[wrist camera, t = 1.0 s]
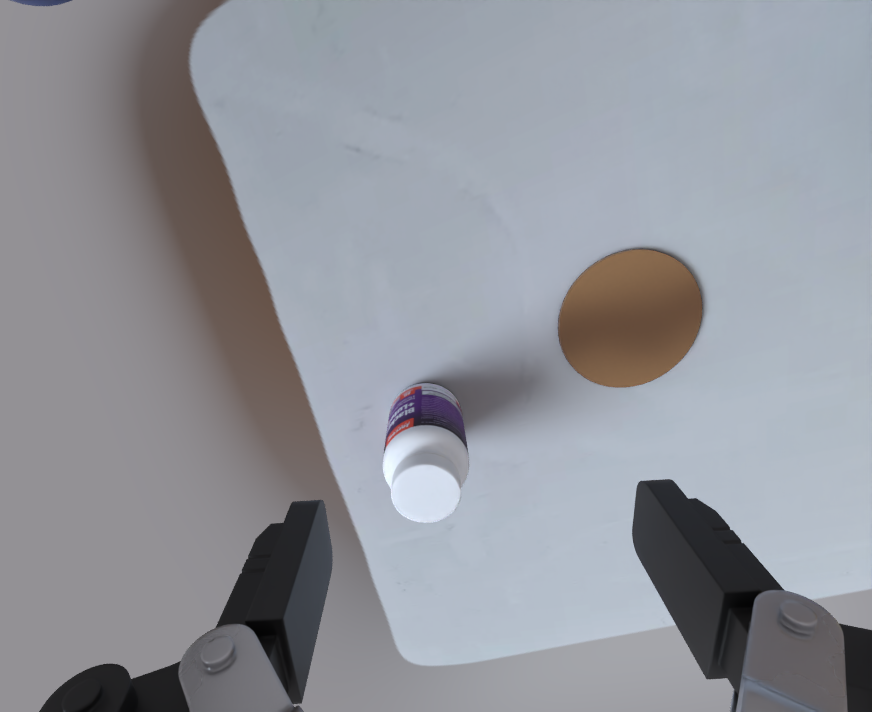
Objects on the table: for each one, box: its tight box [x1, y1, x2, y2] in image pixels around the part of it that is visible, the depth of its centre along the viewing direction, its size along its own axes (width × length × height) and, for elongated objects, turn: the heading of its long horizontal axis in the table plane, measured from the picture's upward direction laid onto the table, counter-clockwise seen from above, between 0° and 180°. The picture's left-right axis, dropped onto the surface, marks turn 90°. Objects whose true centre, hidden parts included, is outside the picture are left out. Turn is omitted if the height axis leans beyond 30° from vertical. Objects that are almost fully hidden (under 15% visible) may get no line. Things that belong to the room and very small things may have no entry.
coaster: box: [558, 249, 702, 387], centre depth 34 cm, size 10×10×1 cm
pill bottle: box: [383, 383, 469, 523], centre depth 32 cm, size 5×5×10 cm
